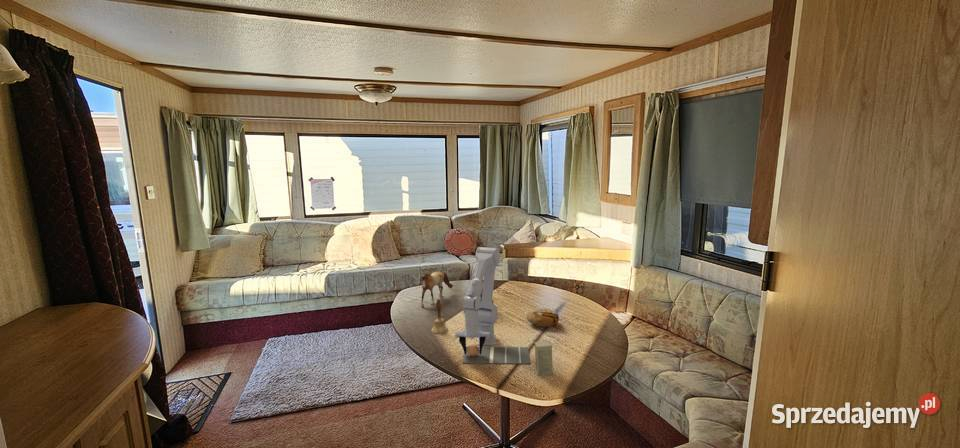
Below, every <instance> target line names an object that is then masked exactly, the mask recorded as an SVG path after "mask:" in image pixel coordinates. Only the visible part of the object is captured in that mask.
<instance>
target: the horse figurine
mask: <svg viewBox="0 0 960 448" xmlns="http://www.w3.org/2000/svg"><path fill="white" fill-rule="evenodd" d="M420 278H421V283H422V284H421V289H422V291H421V308H424V307H425V305H424V298H425V293H426V292H427V290H429V291H430V296H431V300H432V301H431V303H430V305H431V306H433V305H434V304H435V303H434V301H435V299H434V293H433V289H434V287H436V286H437V287H438V289H439V295H438V297H440V300H443V298H444V296H443V290H444V286H443V282H444V284H445V285H446V286H447V287H448V288H449V289H452V288H453V287H454V286H455V285H454V284H452V283H450V279H449V277H448V275H447V274H446V273H444V272H441V271H433V272H432V273H431V274H429V273H424V274H422V276H421V277H420Z"/></svg>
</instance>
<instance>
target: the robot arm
mask: <svg viewBox="0 0 960 448" xmlns="http://www.w3.org/2000/svg"><path fill="white" fill-rule="evenodd" d="M500 257H501V253H500V249H499V248H498V247H485V246H478V247H477V248H476V251H475V260H476V262H477V263H476V268H475V273H474V275H475V277H474V279H473V278H472V279H473V280H472V279H471V280H470V282H469V284H470V285H469V284H468V289H467V293H466V295H465V296H463V298H462V301H461V308H463V309H462V310H463V313H464V321H465V323H464V325H465V328H464V329H465V330H463V331H455V333H454V335H455V338H454V339H458V341H459V344H460V345H461V346H462V349H463V355H464V354H466V352H467V349H466V347H467V338H468V339H470V340H471V339H475V338H477V346H479V347H480V352H479V353H480V354H481V352H482V347H484V346H495V345H496V335H495V324H496V323H497V322H498V316H499V315H498V306H496V305H495V304H494V302H493V303H492V299H493V297H494V284H495V275H496V267H498V266H499V265H500ZM482 279H483V282H482ZM482 288H483V291H482ZM481 291H482V301H481V297H480V295H481ZM481 308H486V309H481ZM487 309H491V310H487Z"/></svg>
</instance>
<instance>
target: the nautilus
mask: <svg viewBox="0 0 960 448" xmlns="http://www.w3.org/2000/svg"><path fill="white" fill-rule="evenodd" d="M559 317H560V316H559V315H558V313H557V312H556V311H554V310H553V309H550V308H545V307H544V308H537V309H534V310H531V311H528V312H527V313H526V316H525V318H526V320H527V322H529V323H531V324H533V325H535V326H536V327H544V328H546V327H552V328H555V329H556V331H559V330H561V331H563V332H564V329H563V326H562V325H564V323H563V322H562V320H561V319H560V318H559Z"/></svg>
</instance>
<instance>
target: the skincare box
mask: <svg viewBox="0 0 960 448" xmlns="http://www.w3.org/2000/svg"><path fill="white" fill-rule="evenodd" d="M534 357H535V361H534V362H535V373H536V375H537V376H550V375H551V376H552V375H553V374H554V373H553V372H554V370H553V368H554V366H553V344H552V342H551V341H550V340H545V341H543V340H541V341H540V340H539V341H534Z"/></svg>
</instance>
